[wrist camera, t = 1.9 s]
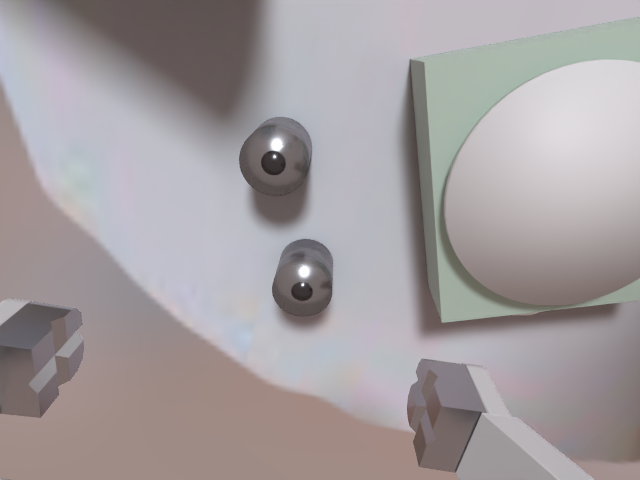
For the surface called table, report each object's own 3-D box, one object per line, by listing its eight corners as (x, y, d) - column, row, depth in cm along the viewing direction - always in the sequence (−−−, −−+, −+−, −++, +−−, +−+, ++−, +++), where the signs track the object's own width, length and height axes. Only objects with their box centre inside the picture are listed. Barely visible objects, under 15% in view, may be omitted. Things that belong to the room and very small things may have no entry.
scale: (666, 11, 30) (762, 1, 23) (629, 267, 38) (691, 315, 32) (410, 59, 32) (428, 62, 25) (428, 291, 40) (446, 342, 34)
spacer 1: (305, 112, 34) (300, 122, 29) (316, 172, 36) (313, 190, 31) (245, 122, 34) (231, 134, 30) (259, 180, 37) (248, 200, 32)
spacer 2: (328, 235, 38) (326, 261, 34) (336, 282, 40) (336, 313, 36) (274, 243, 39) (266, 269, 34) (285, 289, 41) (279, 319, 36)
